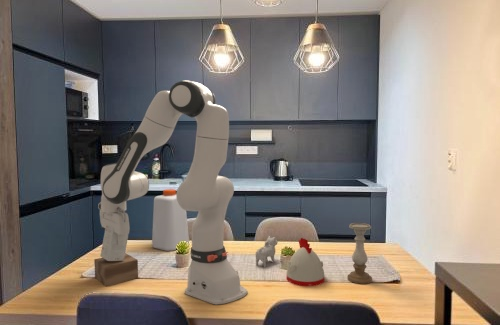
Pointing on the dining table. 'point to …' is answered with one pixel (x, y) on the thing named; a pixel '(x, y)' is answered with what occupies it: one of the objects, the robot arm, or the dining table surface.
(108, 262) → the walnut block
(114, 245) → the small box
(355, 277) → the candle holder
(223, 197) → the robot arm
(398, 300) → the dining table surface
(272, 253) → the dog figurine
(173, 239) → the plastic bottle
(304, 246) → the kitchen timer
